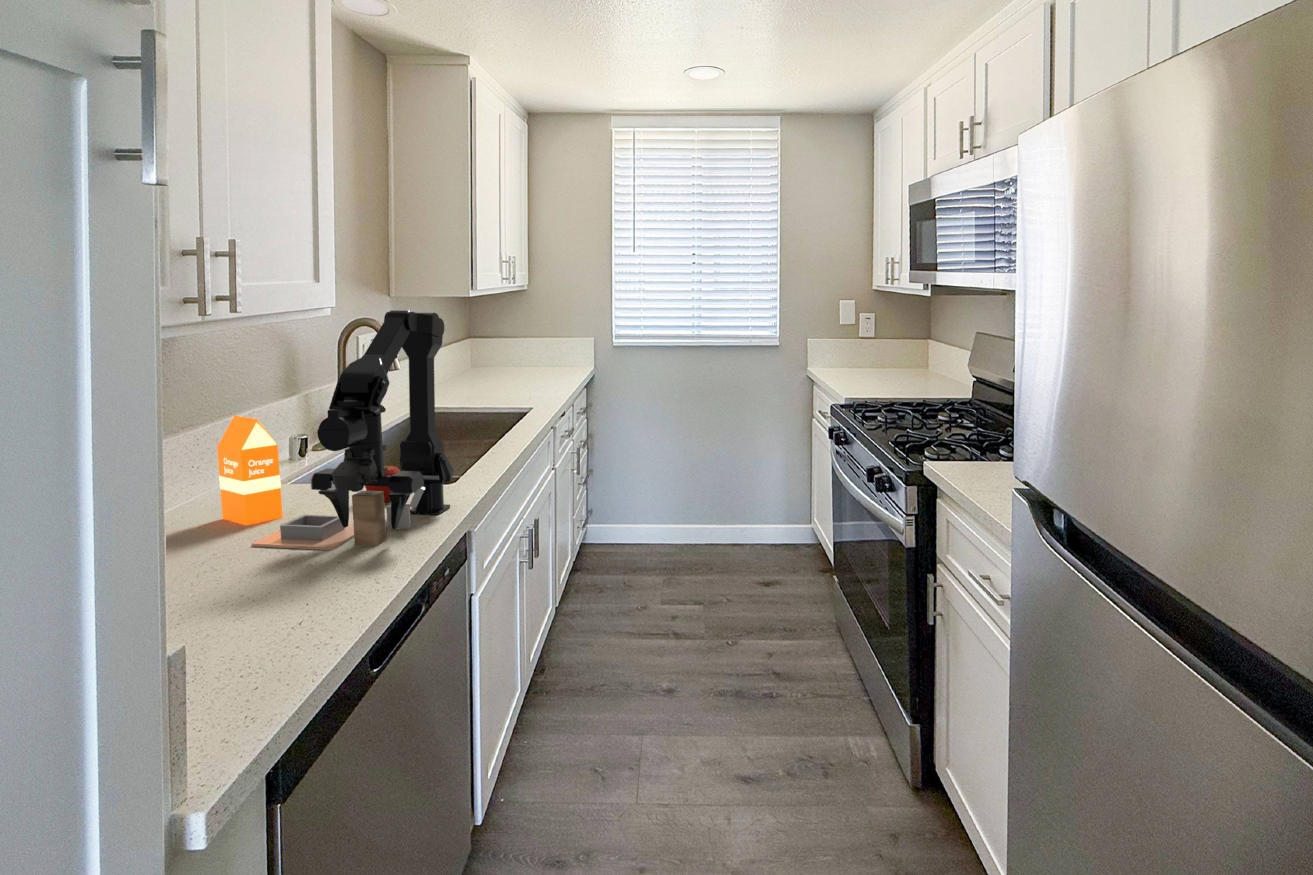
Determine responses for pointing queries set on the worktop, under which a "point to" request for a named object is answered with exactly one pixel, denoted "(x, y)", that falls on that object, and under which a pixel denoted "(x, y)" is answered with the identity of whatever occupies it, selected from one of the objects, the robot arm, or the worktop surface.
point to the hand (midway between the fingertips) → (369, 528)
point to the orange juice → (249, 473)
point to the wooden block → (369, 518)
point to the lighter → (405, 511)
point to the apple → (390, 472)
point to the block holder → (309, 533)
